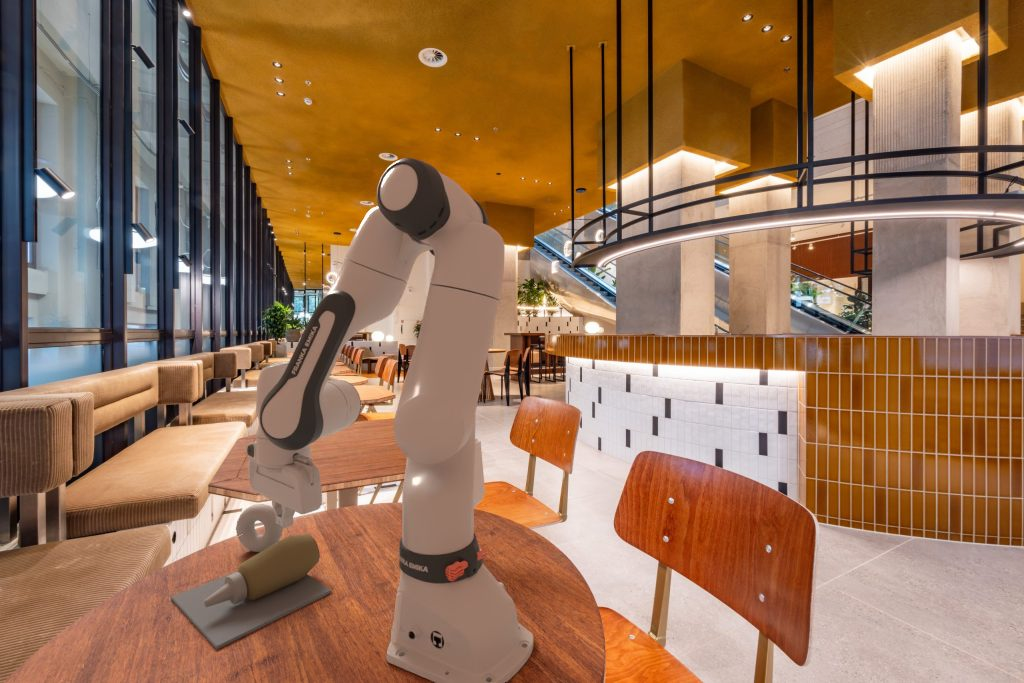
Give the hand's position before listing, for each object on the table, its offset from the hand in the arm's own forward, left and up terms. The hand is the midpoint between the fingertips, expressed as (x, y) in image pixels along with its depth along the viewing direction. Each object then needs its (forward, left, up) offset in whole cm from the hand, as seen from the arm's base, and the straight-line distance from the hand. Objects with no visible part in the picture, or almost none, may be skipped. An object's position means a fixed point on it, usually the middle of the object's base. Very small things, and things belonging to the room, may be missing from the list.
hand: (284, 525), depth 80 cm
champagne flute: (-19, -29, -11) cm, 36 cm away
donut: (+17, -3, -11) cm, 21 cm away
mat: (+1, +5, -11) cm, 12 cm away
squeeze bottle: (0, -5, -6) cm, 8 cm away
